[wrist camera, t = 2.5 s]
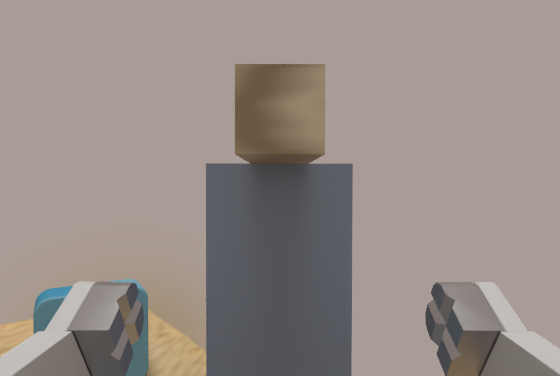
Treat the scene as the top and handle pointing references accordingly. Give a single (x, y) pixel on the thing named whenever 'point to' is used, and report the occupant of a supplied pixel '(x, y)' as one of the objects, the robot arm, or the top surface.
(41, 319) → the data package
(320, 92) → the maple rod
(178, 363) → the top surface
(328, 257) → the slate block
